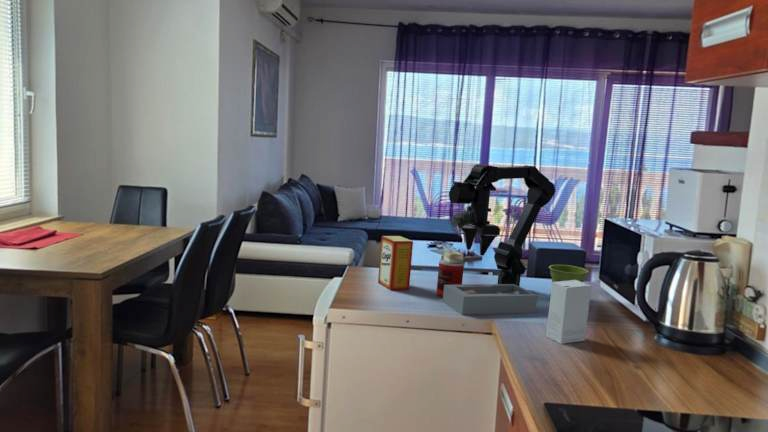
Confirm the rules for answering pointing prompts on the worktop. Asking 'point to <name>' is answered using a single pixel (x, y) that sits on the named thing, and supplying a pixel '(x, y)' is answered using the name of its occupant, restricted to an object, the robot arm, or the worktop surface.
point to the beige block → (453, 257)
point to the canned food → (449, 275)
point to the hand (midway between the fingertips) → (475, 252)
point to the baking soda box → (395, 262)
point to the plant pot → (567, 273)
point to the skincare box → (568, 311)
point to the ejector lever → (497, 292)
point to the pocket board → (489, 299)
